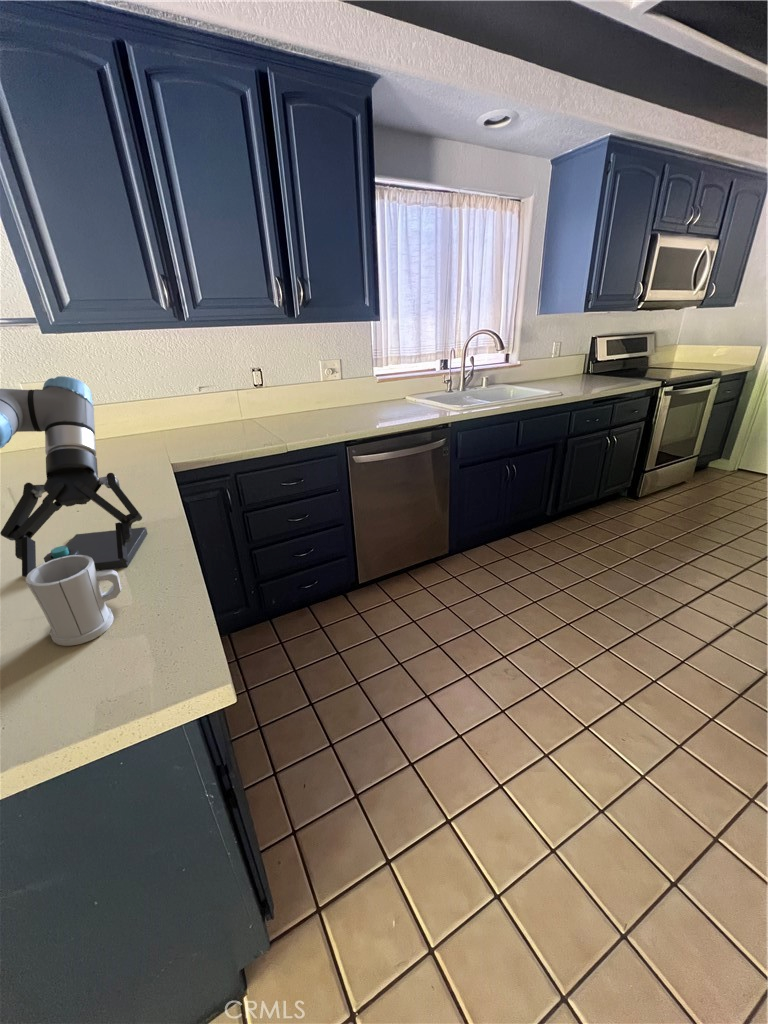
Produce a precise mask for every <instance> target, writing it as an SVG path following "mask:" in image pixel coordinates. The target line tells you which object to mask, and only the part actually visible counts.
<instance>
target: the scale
mask: <svg viewBox="0 0 768 1024" xmlns="http://www.w3.org/2000/svg"><path fill="white" fill-rule="evenodd" d="M131 529H132V541H131V542H126V544H127V555H128V562H124V563H123V562H122V561H121V560H119V559H118V551H117V539H116V529H115V530H105V531H94V532H85V533H84V532H83V533H76V534H75V535H74V536H73V537H72V538H71V539H70V540H69V541H68V543H66V544H65V546H66V547H67V548H68V551H69V555H67V556H70V555H86V556H89V557H91V558H92V559H93V561H94V565H95V569H96V571H104V570H111V569H112V570H115V569H123V568H129V566H130V564H131V562H132V561H133V559H134V558H135V557H136V554H137V553H138V551H139V549H140V547H141V546H142V544H143V543H144V541H145V539H146V537H147V536H148V534H149V533H148V530H147V527H146V526H144V527H136V528H135V527H134V528H133V527H132V528H131ZM53 559H54V558H53V556H52V554H51V552H49V553H47V554H46V555H45V556H44V557H43V560H44V563H46V562H48V561H50V560H53Z"/></svg>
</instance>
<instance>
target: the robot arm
mask: <svg viewBox="0 0 768 1024" xmlns="http://www.w3.org/2000/svg"><path fill="white" fill-rule="evenodd" d="M95 427H96V426H95V408H94V401H93V395H92V391H91V389H90V388H89V386H88V385H87V384H86V383H84V382H83V381H81V380H79V379H77V378H74V377H71V376H61V375H60V376H56V377H50V378H48V379H47V380H45V382H44V383H43V386H42V388H41V389H38V388H35V389H20V388H19V389H17V388H0V449H2V448H5V446H6V445H7V444H8V443H9V442H10V441H11V440H12V438H13V436H14V435H15V434H17V433H21V432H22V433H23V432H28V433H30V432H31V433H32V432H33V433H35V432H38V433H40V432H44V440H45V441H44V445H45V446H44V447H45V449H44V450H45V451H44V452H45V474H46V475H45V476H46V481H45V483H44V484H33V483H31V482H26V483H25V484H24V485H23V490H22V495H21V497H20V499H19V500H18V502H17V504H16V505H15V507H14V509H13V511H12V512H11V513H10V515H9V517H8V519H7V520H6V522H5V524H4V526H3V527H2V529H1V531H0V536H2V537H3V538H6V539H7V540H9V541H11V542H12V541H14V551H15V552H14V554H15V558H17V559H18V560H21V576H22V577H24V578H26V577H27V575H28V573H30V572H31V571H32V570H33V569H34V568H36V567H37V557H36V556H37V553H36V551H37V550H36V541H35V540H34V539H32V538H33V537H34V536H35V535H36V533H37V532H38V531H39V530H40V529H42V527H43V526H44V524H46V523H47V521H49V519H50V518H51V517H52V516H53V515H54V514H55V513H56V512H57V511H59V510H61V508H62V507H63V506H65V507H74V506H76V505H87V503H89V502H91V501H92V502H93V503H95V504H96V505H97V506H99V507H100V508H101V509H103V510H104V511H106V512H107V513H108V514H110V516H112V517H113V518H115V519H116V520H117V521H119V522H115V523H114V526H115V530H116V539H117V551H118V559H119V560H121V561H122V562H123V563H124V562H128V555H127V544H126V542H131V541H132V529H133V528H132V525H133V524H134V523H135V522H140V521H142V520H143V515H142V514H141V513H140V512H139V510H138V509H137V508H136V507H135V505H134V504H133V502H132V501H131V500H130V499H129V498H128V496H127V494H126V493H125V492H124V491H123V490H122V488H121V484H120V481H119V479H118V477H117V475H115V473H113V472H108V473H107V474H106V475H105V476H102V477H101V476H100V477H99V470H98V459H97V457H96V456H97V442H96V429H95ZM102 486H105V488H107V489H111V491H112V492H113V494H114V495H115V496H116V497H117V498H118V500H119V501H120V502H121V504H122V505H123V506H124V508H125V509H126V510H127V512H128V513H127V514H125V513H123V512H122V511H121V510H119V509H118V508H116V507H115V506H114V505H113V504H111V503H110V502H109V501H107V500H106V499H105V498H103V497H102V496H101V495H99V494H98V493H97V492H98V491H99V490H100V488H102ZM44 493H46V494H47V495H46V496H45V497H44V498H43V499H42V501H41V504H40V505H39V506H38V507H37V508H36V509H35V507H36V506H37V503H38V502H39V499H41V498H42V496H43V494H44ZM34 509H35V510H34Z"/></svg>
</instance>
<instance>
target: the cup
mask: <svg viewBox="0 0 768 1024" xmlns="http://www.w3.org/2000/svg"><path fill="white" fill-rule="evenodd" d="M104 581H108V582H110V583H112V585H111V586H110V588H109V590H108V591H105V592H102V588H101V585H100V584H101V583H100V582H104ZM25 583H26V585H27V587H28V588H29V590H30V592H31V593H32V595H33V596H34V598H35V600H36V602H37V604H38V605H39V607H40V609H41V611H42V613H43V614H44V616H45V618H46V621H47V622H48V624H49V627H50V630H49V634H50V637H51V639H52V642H54V643H55V644H56V645H58V646H64V647H71V646H72V647H73V646H78V645H82V644H86V643H88V642H90V641H93V640H95V639H96V638H98V637H100V636H102V635H103V634H104V633H105V632H106V631H108V630H109V629H110V627H111V625H113V623H114V618H115V616H114V615H113V612H112V610H111V608H110V607H108V606H107V603H106V602H108V601H111V600H114V599H117V597H118V596H119V595H120V593H121V592H122V584H121V580H120V576H119V573H118V572H117V571H116V570H115V569H108V570H99V571H96V569H95V565H94V561H93V559H92V558H91V557H89V556H86V555H70V556H65V557H62V558H61V557H60V558H57V559H53V560H50V561H48V562H46V563H45V562H42V564H39V565H37V566H36V568H34V569H33V570H32V571H31V572H30V573H28V575H27V577H25Z"/></svg>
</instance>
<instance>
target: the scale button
mask: <svg viewBox="0 0 768 1024" xmlns="http://www.w3.org/2000/svg"><path fill="white" fill-rule="evenodd" d="M50 553H51V554H52V556H53V558H54V559H57V558H60V557H61V558H62V557H65V556H67V555H69V551H68V548H67V547H66V545H61V546H56V547H54V548H52V549H51V550H50Z"/></svg>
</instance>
